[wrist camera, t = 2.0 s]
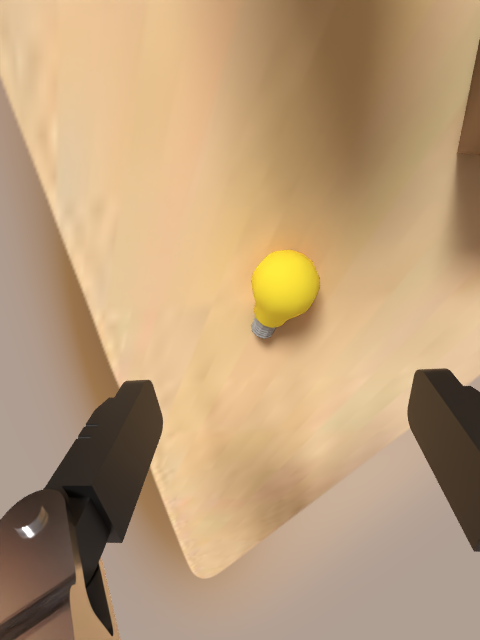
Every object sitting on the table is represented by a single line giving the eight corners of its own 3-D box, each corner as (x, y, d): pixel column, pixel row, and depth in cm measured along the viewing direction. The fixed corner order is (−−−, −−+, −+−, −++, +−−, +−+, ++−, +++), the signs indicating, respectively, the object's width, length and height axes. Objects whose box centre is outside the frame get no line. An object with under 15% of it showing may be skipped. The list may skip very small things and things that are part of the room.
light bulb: (318, 240, 17) (341, 286, 15) (278, 314, 21) (291, 359, 19) (259, 230, 16) (274, 278, 14) (229, 310, 20) (237, 357, 18)
